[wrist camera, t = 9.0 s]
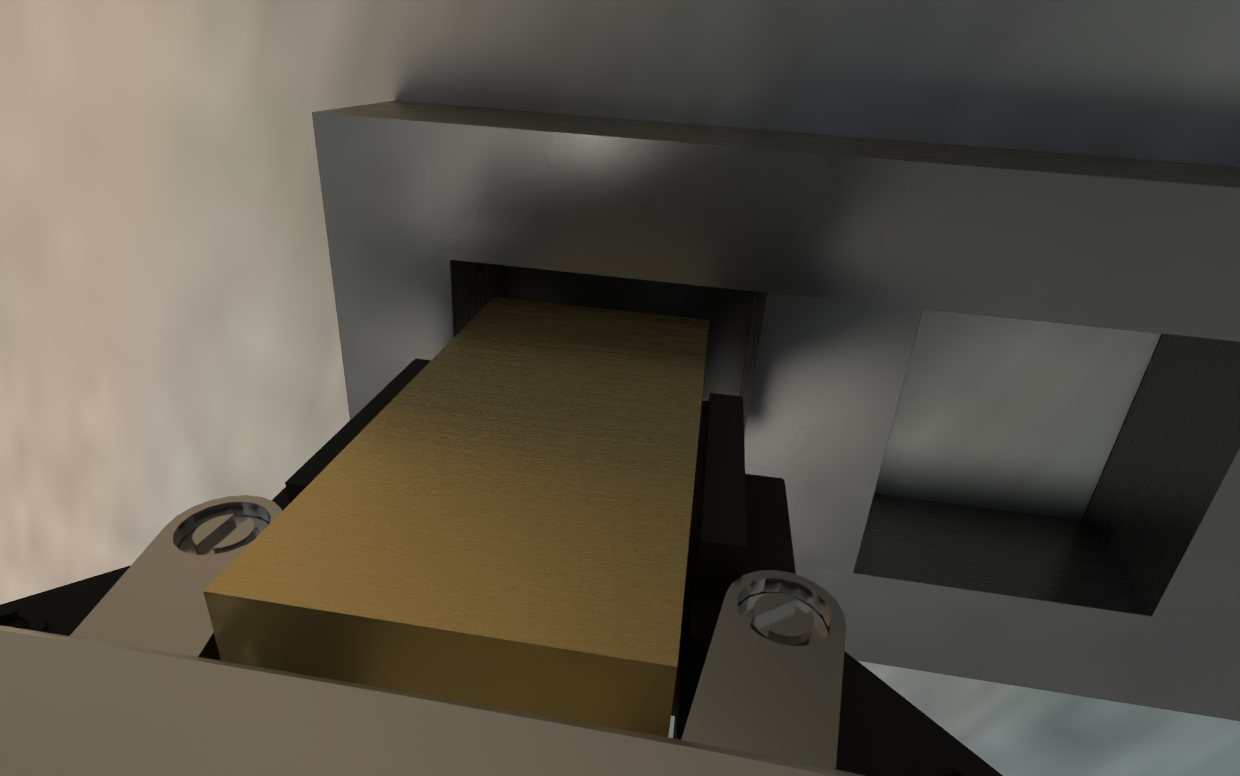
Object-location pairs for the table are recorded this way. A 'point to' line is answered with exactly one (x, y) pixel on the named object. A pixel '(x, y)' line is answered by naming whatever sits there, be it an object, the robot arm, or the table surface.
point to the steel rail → (863, 352)
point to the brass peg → (497, 526)
